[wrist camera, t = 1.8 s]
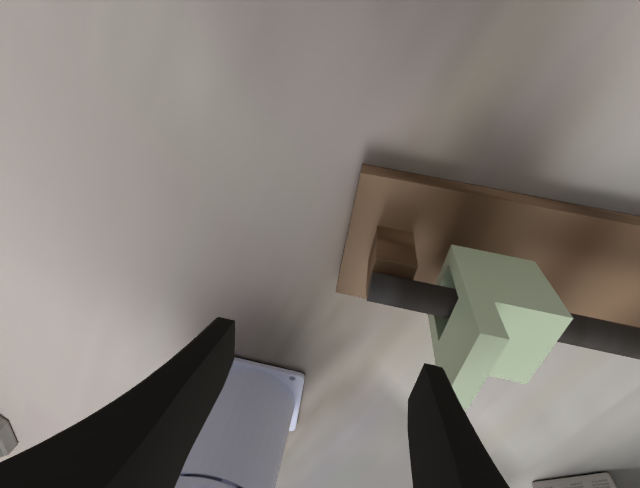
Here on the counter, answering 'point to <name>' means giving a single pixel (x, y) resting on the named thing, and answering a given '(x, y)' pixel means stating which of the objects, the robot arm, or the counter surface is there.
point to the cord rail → (493, 250)
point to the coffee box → (578, 482)
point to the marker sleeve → (494, 320)
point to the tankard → (6, 437)
